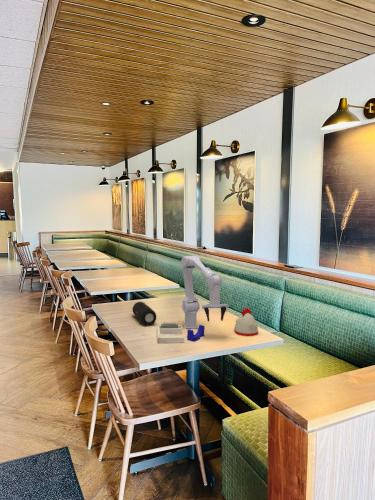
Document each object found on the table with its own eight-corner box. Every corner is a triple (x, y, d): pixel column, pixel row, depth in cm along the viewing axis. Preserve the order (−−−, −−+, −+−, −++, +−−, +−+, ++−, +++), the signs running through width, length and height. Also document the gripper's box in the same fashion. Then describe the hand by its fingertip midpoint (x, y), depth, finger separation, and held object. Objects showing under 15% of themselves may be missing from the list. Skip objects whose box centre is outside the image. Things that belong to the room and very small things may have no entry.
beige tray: (157, 330, 215) (157, 325, 215) (180, 330, 216) (180, 325, 216) (158, 343, 194) (158, 337, 194) (183, 342, 196) (184, 337, 195)
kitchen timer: (229, 331, 216) (230, 306, 215) (245, 327, 224) (246, 303, 223) (246, 338, 205) (247, 312, 203) (262, 333, 213) (263, 308, 212)
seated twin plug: (160, 331, 214) (161, 322, 213) (177, 330, 215) (177, 322, 214) (161, 333, 210) (161, 324, 210) (178, 332, 211) (178, 324, 211)
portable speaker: (131, 315, 244) (131, 301, 243) (145, 314, 248) (145, 300, 247) (142, 327, 221) (142, 311, 220) (157, 325, 225) (157, 309, 224)
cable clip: (193, 342, 197) (193, 331, 197) (187, 340, 200) (187, 329, 199) (206, 336, 207) (206, 326, 206) (200, 334, 209) (200, 324, 209)
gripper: (202, 298, 197) (203, 323, 198) (228, 297, 198) (229, 321, 199) (201, 296, 204) (201, 320, 205) (226, 295, 206) (226, 318, 206)
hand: (215, 320), depth 202 cm, fingers open, 7 cm apart
